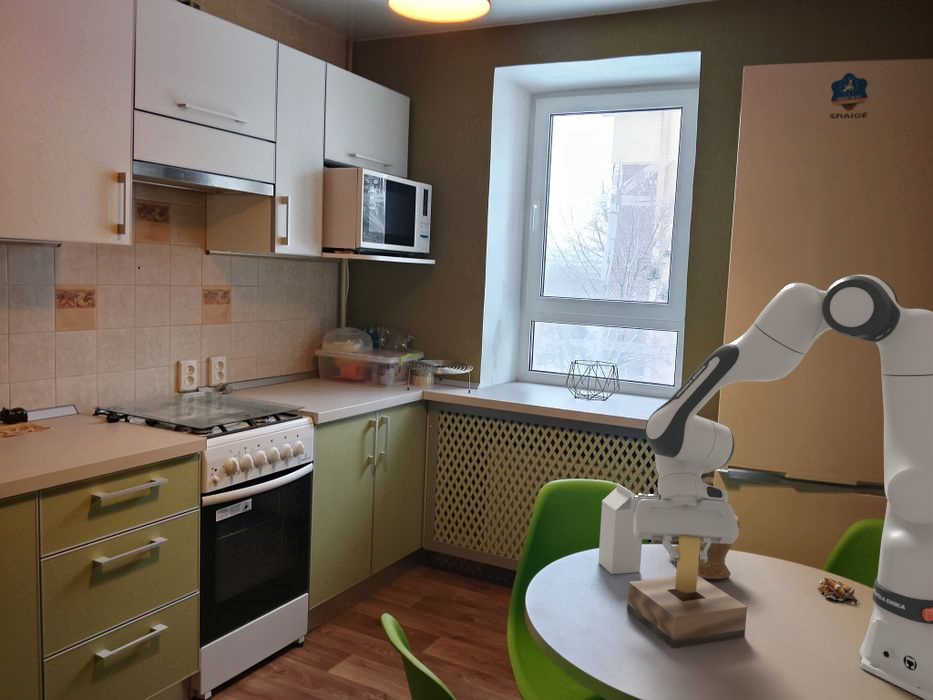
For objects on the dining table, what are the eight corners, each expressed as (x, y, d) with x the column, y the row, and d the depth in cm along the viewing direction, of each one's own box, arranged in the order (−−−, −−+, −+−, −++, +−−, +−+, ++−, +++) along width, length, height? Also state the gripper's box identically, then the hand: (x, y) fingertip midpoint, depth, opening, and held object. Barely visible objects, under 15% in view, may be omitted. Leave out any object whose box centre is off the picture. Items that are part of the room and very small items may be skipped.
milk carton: (611, 575, 178) (616, 492, 176) (598, 563, 185) (602, 483, 182) (640, 572, 180) (645, 491, 178) (625, 561, 187) (631, 482, 184)
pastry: (840, 583, 180) (841, 568, 179) (861, 606, 168) (862, 590, 167) (808, 580, 180) (809, 565, 180) (826, 603, 168) (828, 587, 168)
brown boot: (744, 582, 177) (750, 517, 175) (694, 584, 175) (699, 518, 173) (713, 556, 192) (718, 496, 190) (666, 558, 190) (671, 497, 188)
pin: (700, 591, 154) (704, 542, 152) (683, 593, 152) (687, 543, 151) (688, 583, 157) (692, 534, 156) (671, 585, 156) (674, 536, 155)
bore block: (744, 636, 151) (747, 606, 150) (672, 648, 145) (675, 616, 145) (693, 601, 166) (695, 573, 165) (626, 610, 160) (628, 581, 160)
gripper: (632, 486, 160) (637, 551, 151) (735, 491, 159) (746, 557, 151) (627, 500, 165) (632, 564, 156) (726, 506, 164) (736, 570, 156)
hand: (688, 560), depth 153 cm, fingers closed on pin, 4 cm apart
